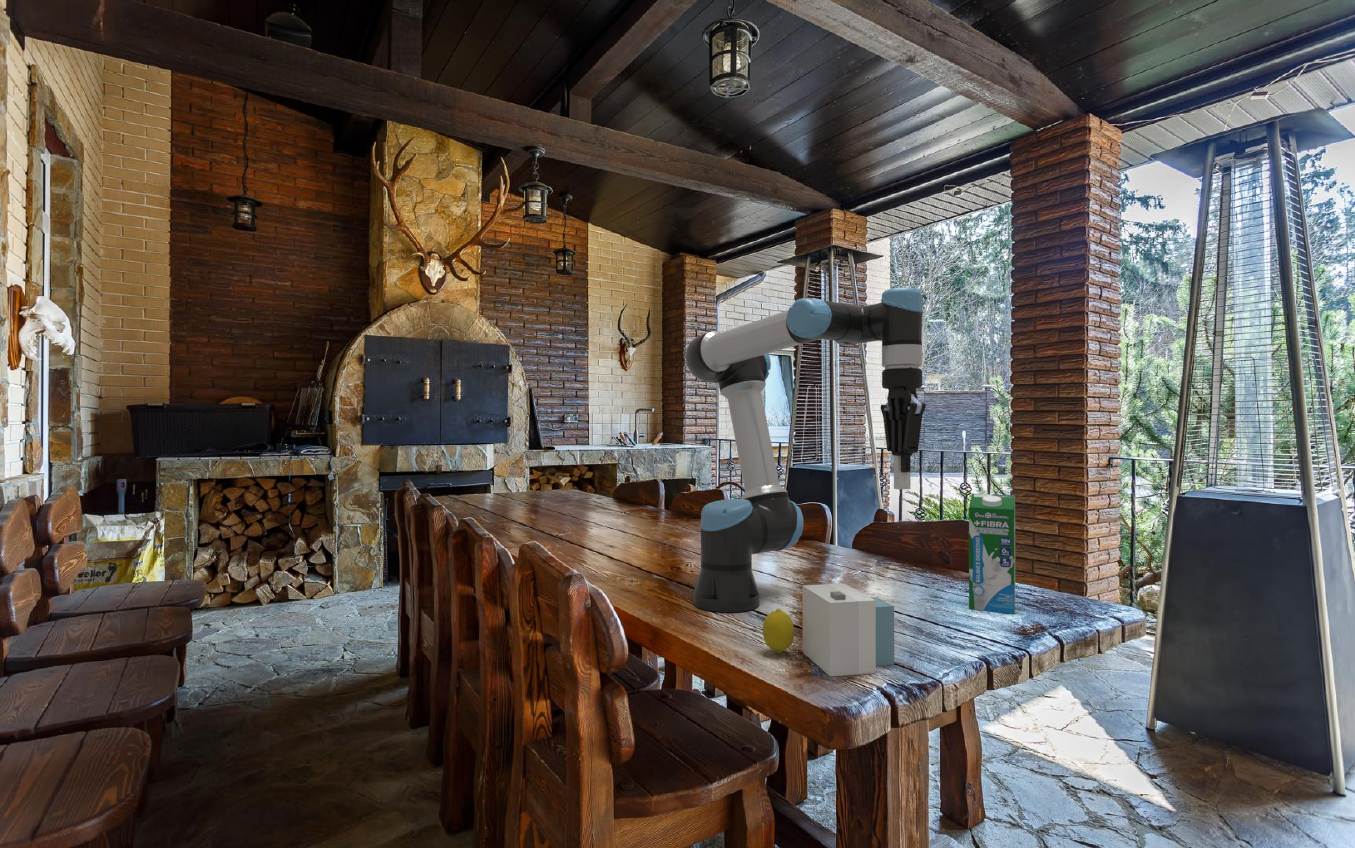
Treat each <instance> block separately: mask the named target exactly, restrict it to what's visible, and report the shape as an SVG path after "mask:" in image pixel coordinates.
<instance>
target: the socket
mask: <svg viewBox="0 0 1355 848" xmlns="http://www.w3.org/2000/svg"><path fill="white" fill-rule="evenodd" d="M870 597H871V596H869V595H866V594H864V593H863V592H861V591H860V590H857V589H855V588H853V587H852V586H850V585H848V584H846V583H827V584H826V583H825V584H824V583H823V584H807V585H805V584H803V585H802V653H803V654H804V655H805V656H806V657H808V658H809V659H810V660H811V661H812V662H813V663H815V665H817V666H818V667H819V669H821V670H822V671H823V672H824V673H826V674H827V675H828V676H829V677H830V678H831V677H844V676H855V675H857V676H858V675H866V674H867V675H868V674H876V673H877V671H876V669H877V666H876V600H874V599H872V598H870Z"/></svg>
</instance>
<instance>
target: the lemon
mask: <svg viewBox="0 0 1355 848" xmlns="http://www.w3.org/2000/svg"><path fill="white" fill-rule="evenodd" d="M794 628H795V627H794V623H793V620H792V618H791V616H789V614H788V613H787V612H785V611H783V610H781V609H780V608H776V610H773V611H771V612H770V613H768V614H767V616H766V617H765V619H764V622H763V626H762V637H763V639H764V642H765V644H766V646H767V647H768V648H769V649H770V650H773V651H774V652H775V653H776V654H778V655H780V654H781V653H783V651H786V650H787V649H789V648H790V647H791V645H793V641H794V638H795V629H794Z"/></svg>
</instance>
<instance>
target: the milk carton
mask: <svg viewBox="0 0 1355 848" xmlns="http://www.w3.org/2000/svg"><path fill="white" fill-rule="evenodd" d="M968 609H969V610H975V611H977V610H978V611H984V612H985V611H986V612H994V613H1001V614H1009V615H1014V614H1015V613H1016V495H1015V494H996V493H994V494H993V493H992V494H990V493H975V492H973V493H971V497H970V501H969V506H968Z"/></svg>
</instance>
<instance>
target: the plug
mask: <svg viewBox="0 0 1355 848" xmlns="http://www.w3.org/2000/svg"><path fill="white" fill-rule="evenodd" d="M869 597H870V598H872V599H874V600H876V667H878V666H879V667H880V666H893V665H895V605H893V604H891V603H889V602H887V601H886V600H883V599H881V598H880V597H877V596H875V597H871V596H869Z"/></svg>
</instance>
